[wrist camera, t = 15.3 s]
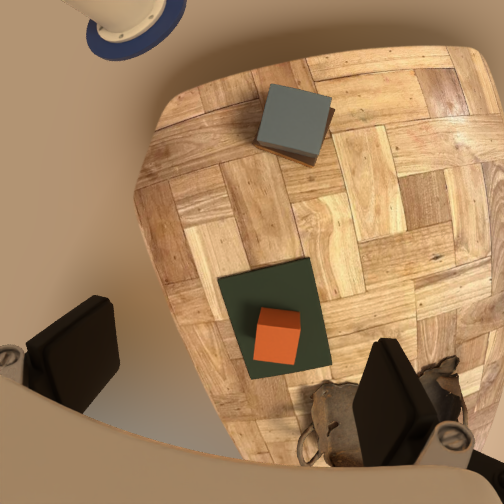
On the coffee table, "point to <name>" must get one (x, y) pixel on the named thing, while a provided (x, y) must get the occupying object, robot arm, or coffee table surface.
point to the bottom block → (293, 156)
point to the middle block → (294, 120)
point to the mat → (283, 298)
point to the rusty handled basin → (340, 410)
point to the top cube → (277, 336)
